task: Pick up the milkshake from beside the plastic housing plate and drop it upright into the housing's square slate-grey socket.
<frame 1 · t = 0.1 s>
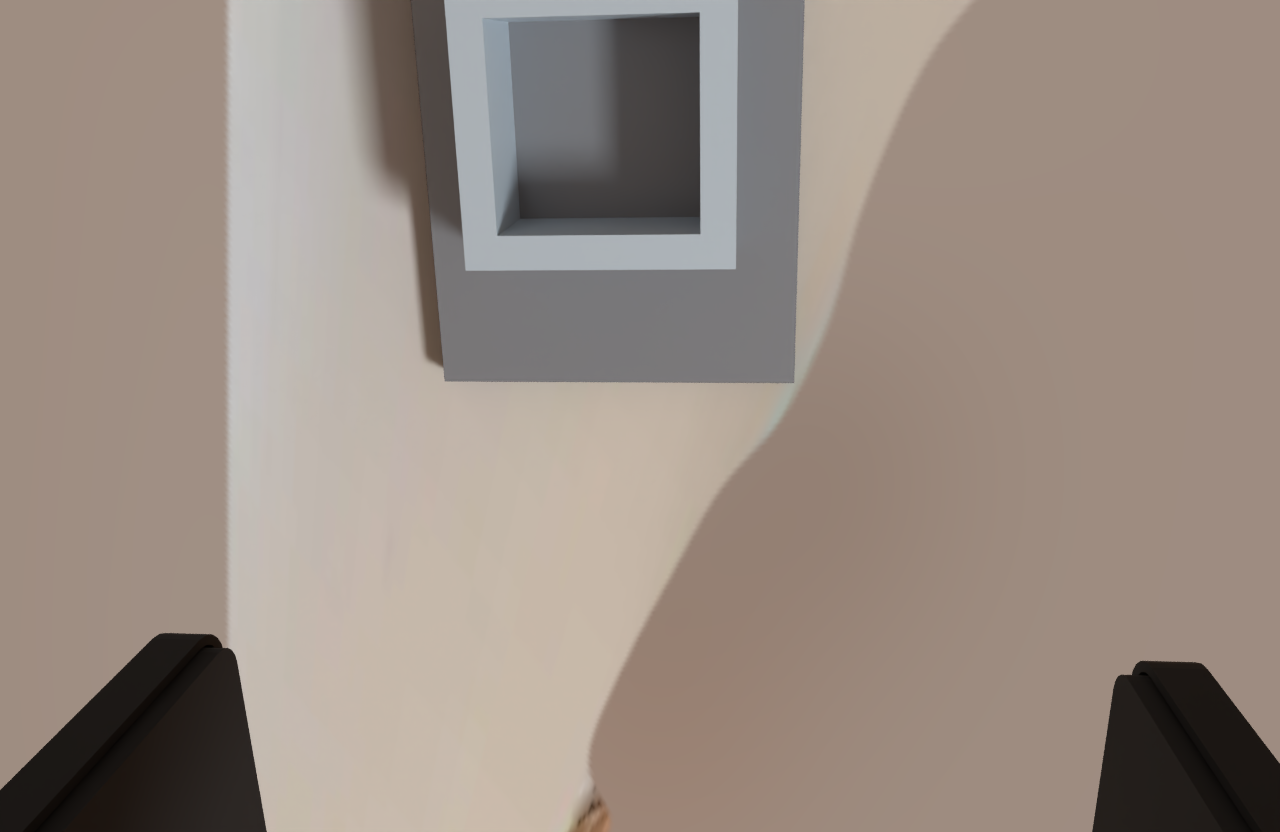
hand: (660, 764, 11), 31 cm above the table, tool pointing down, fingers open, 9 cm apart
housing: (612, 119, 39), on the table
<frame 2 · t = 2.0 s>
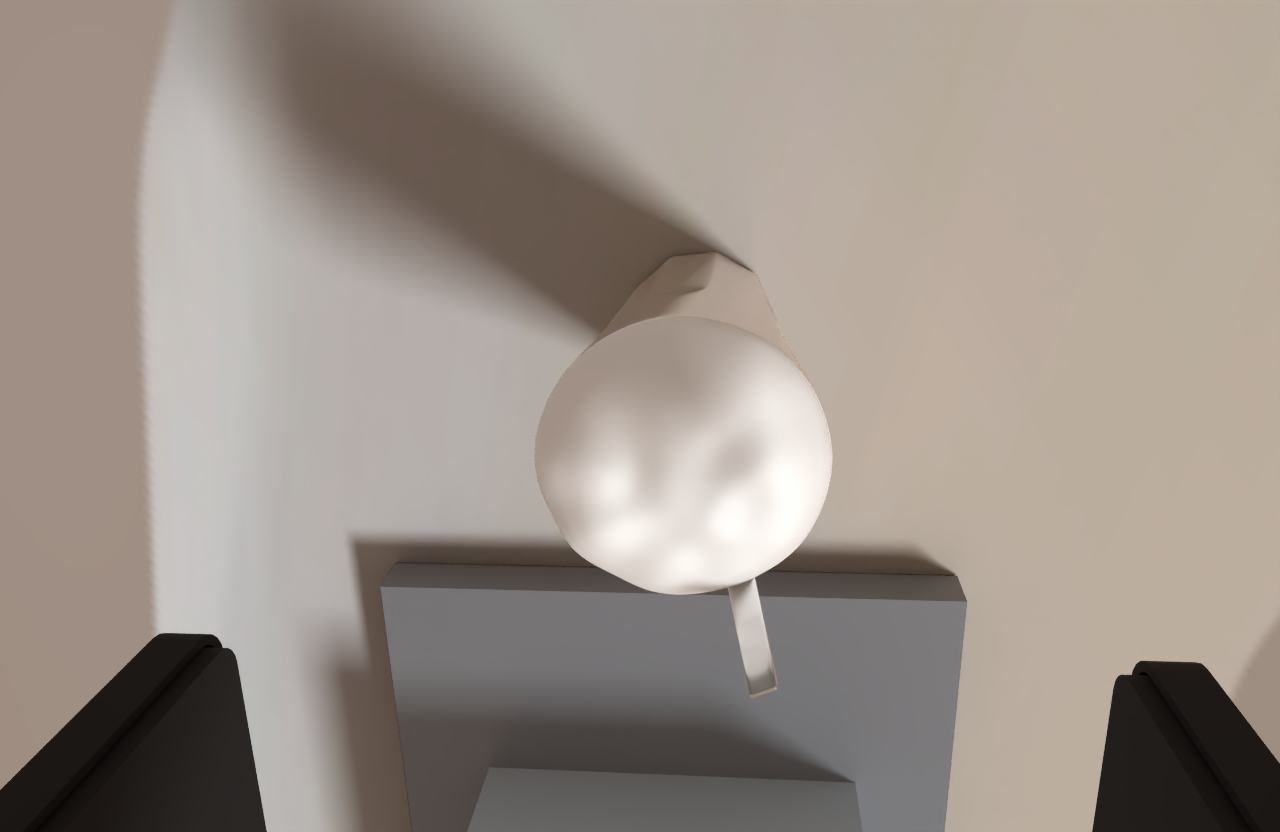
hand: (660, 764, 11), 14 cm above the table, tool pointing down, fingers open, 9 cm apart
milkshake: (708, 334, 24), on the table
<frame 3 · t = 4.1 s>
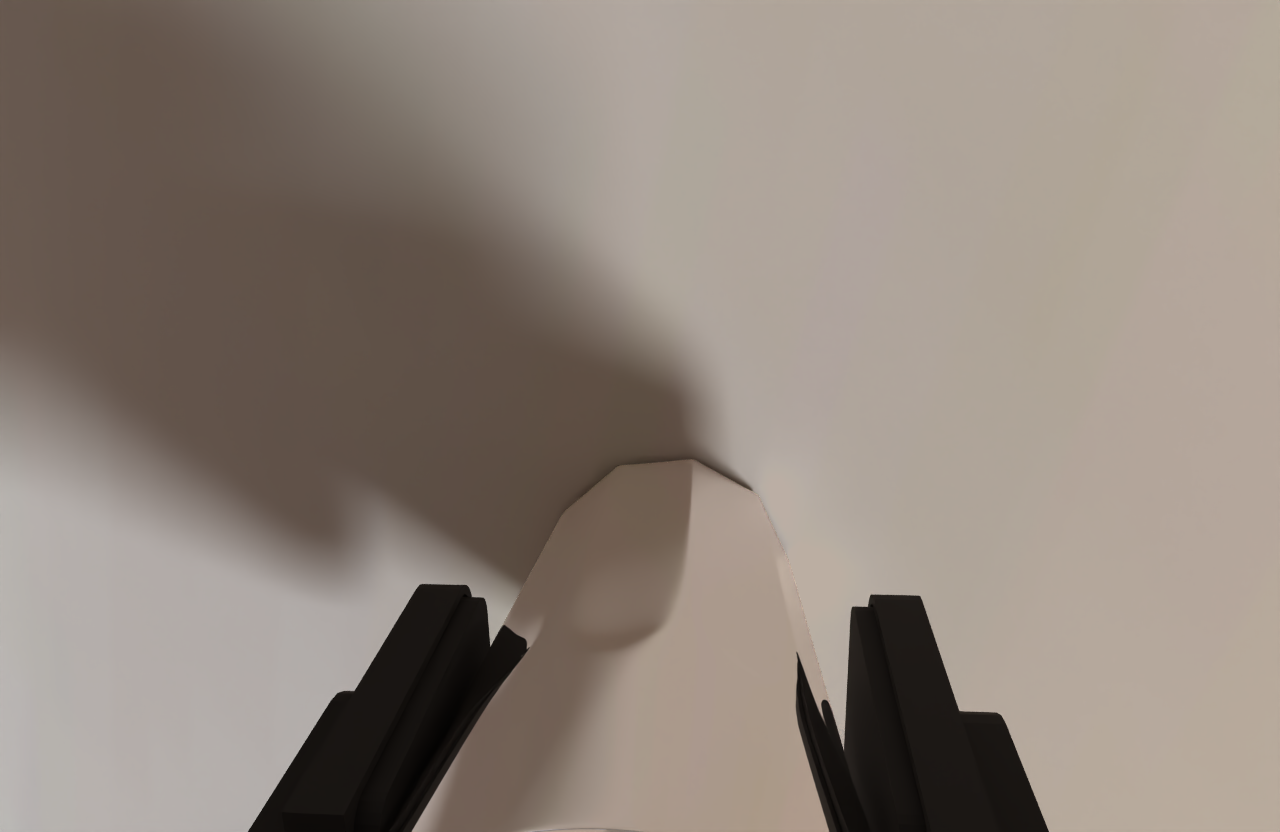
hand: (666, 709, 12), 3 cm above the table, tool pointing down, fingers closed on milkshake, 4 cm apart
milkshake: (681, 580, 15), on the table, touching gripper
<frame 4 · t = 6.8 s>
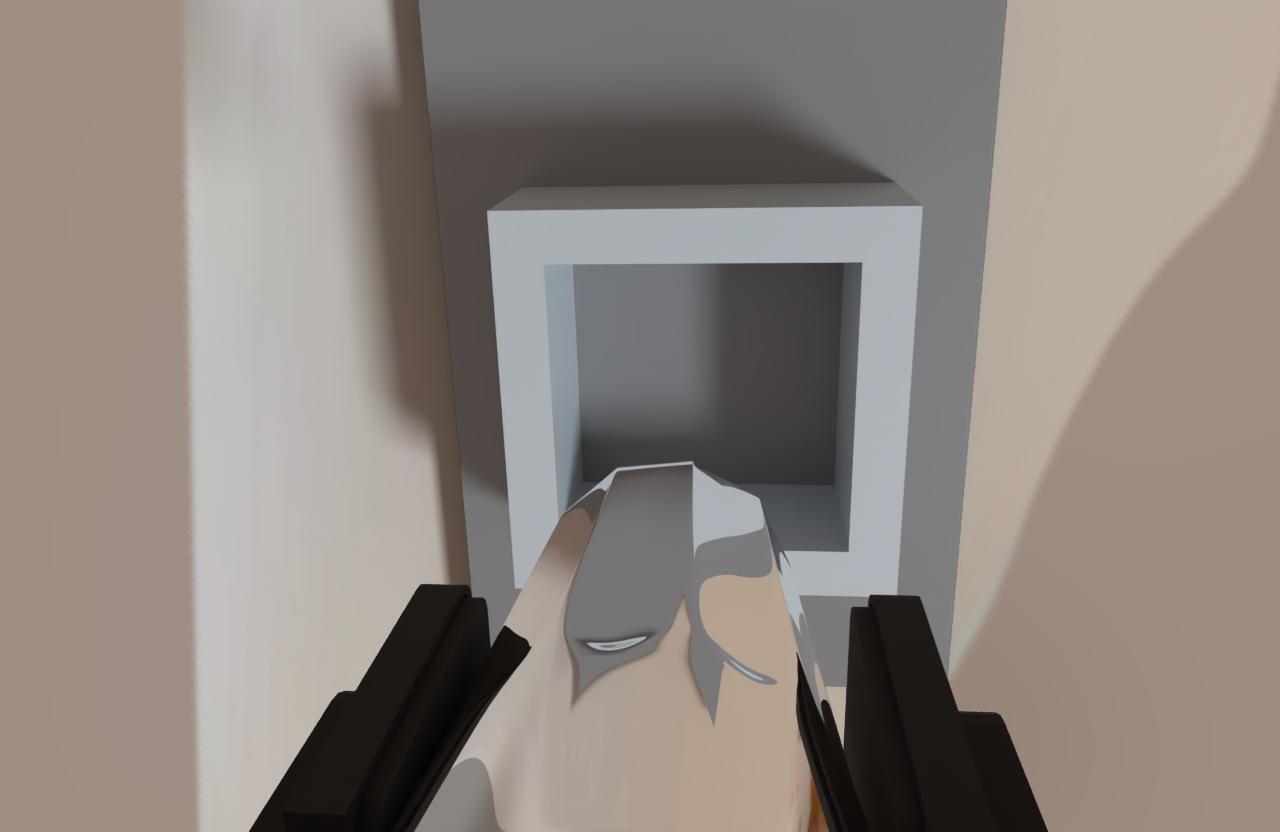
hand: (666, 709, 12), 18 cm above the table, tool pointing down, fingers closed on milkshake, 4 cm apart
milkshake: (681, 582, 15), point 15 cm above the table, touching gripper
housing: (708, 350, 29), on the table
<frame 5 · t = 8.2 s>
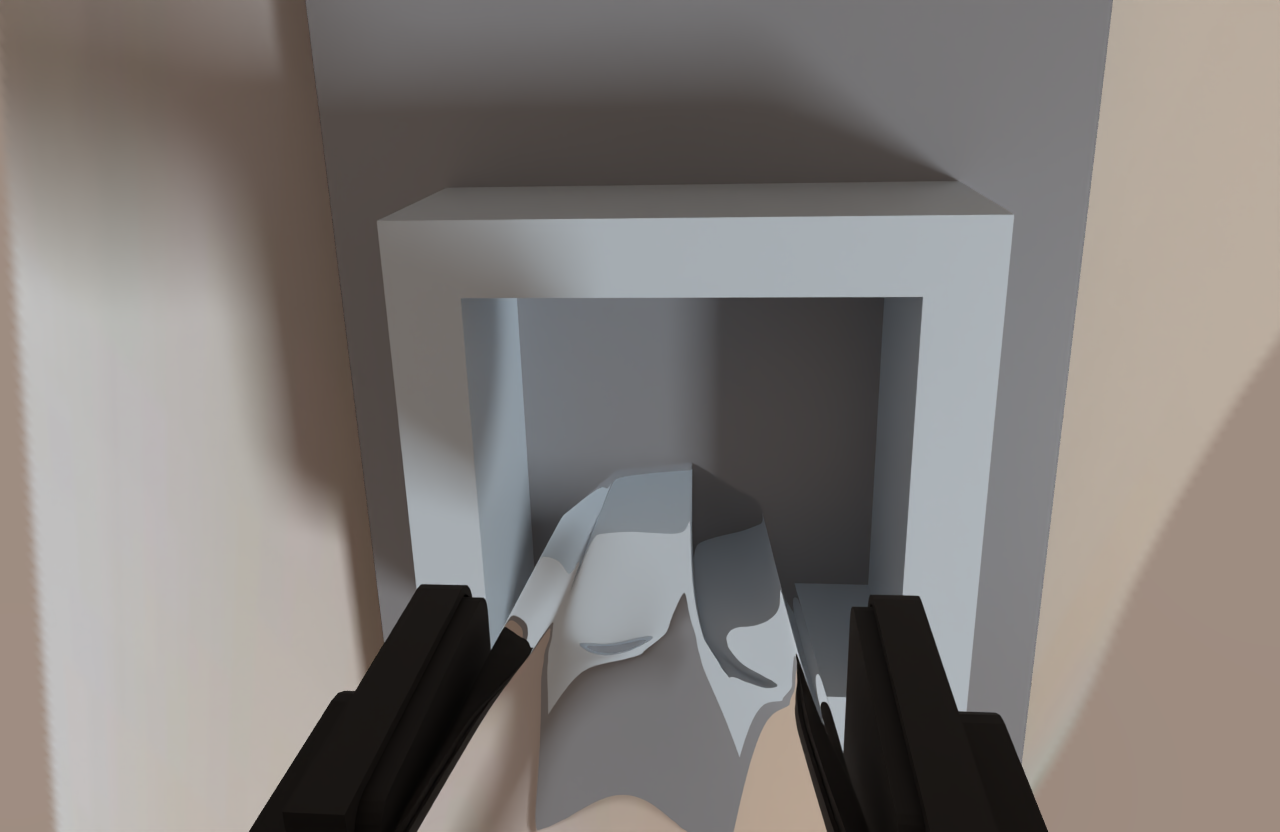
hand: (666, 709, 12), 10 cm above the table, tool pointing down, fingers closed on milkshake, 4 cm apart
milkshake: (681, 584, 15), point 8 cm above the table, touching gripper
housing: (700, 405, 22), on the table
when the fingers open (7 cm above the table, at t = 9.6 s): milkshake drops 3 cm, resting on housing.
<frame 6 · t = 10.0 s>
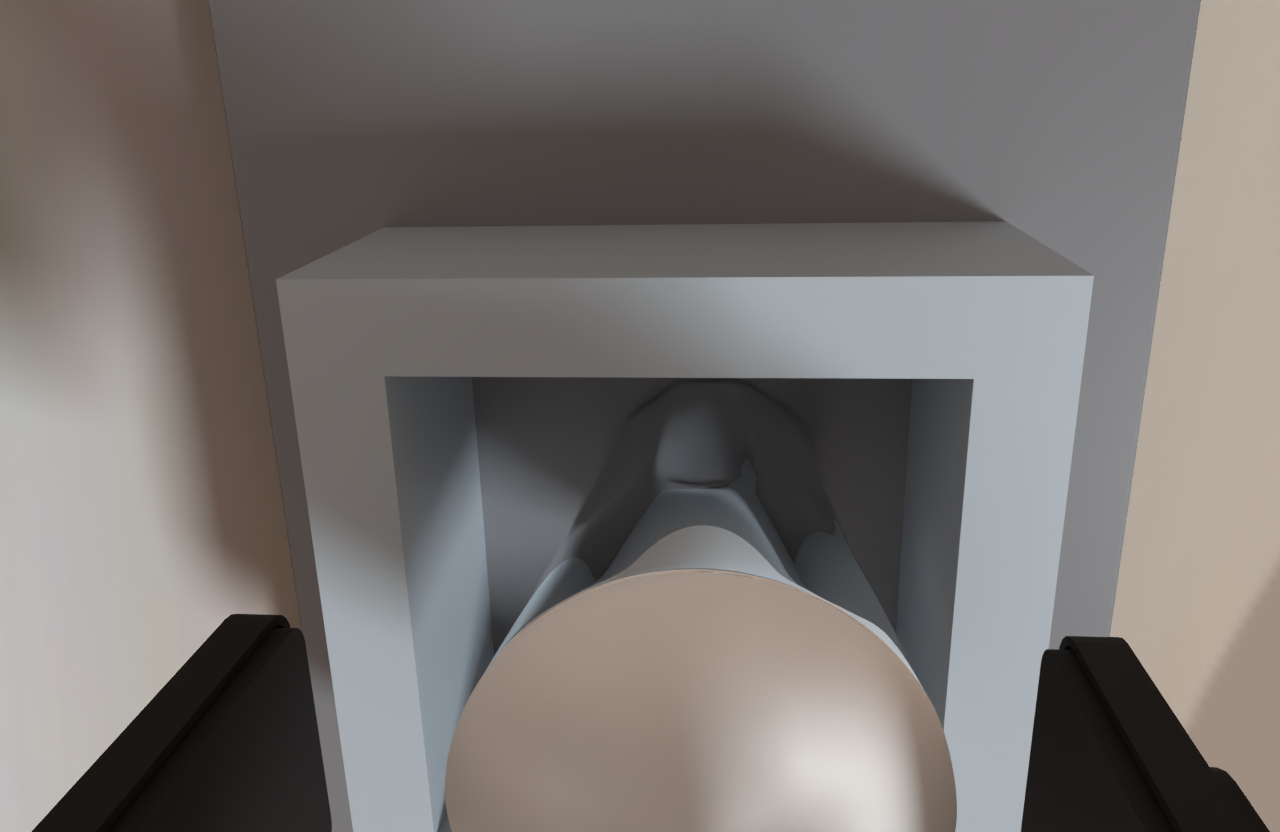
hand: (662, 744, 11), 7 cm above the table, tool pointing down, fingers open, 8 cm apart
milkshake: (720, 488, 17), point 1 cm above the table, touching housing
housing: (692, 480, 18), on the table
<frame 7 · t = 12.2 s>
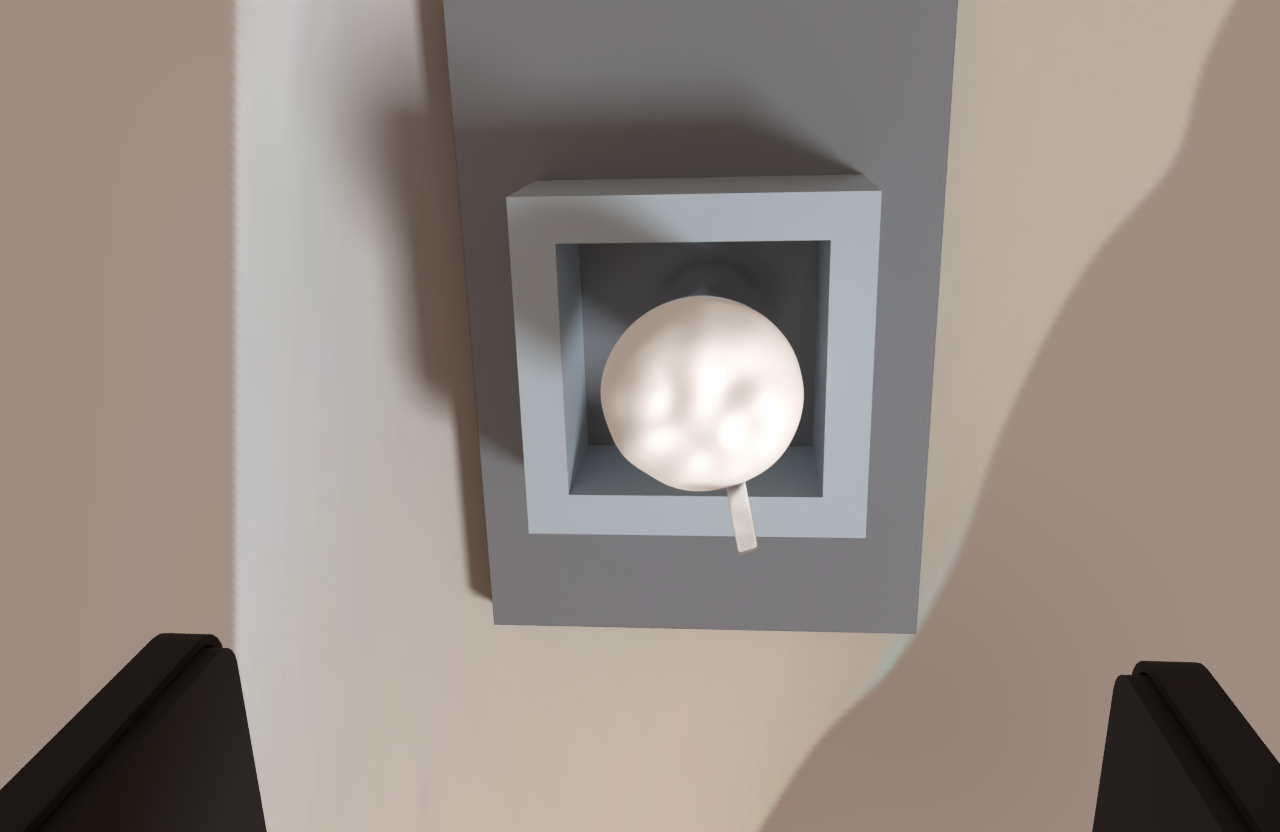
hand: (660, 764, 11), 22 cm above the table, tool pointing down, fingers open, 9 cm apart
milkshake: (715, 325, 31), point 1 cm above the table, touching housing
housing: (699, 327, 32), on the table
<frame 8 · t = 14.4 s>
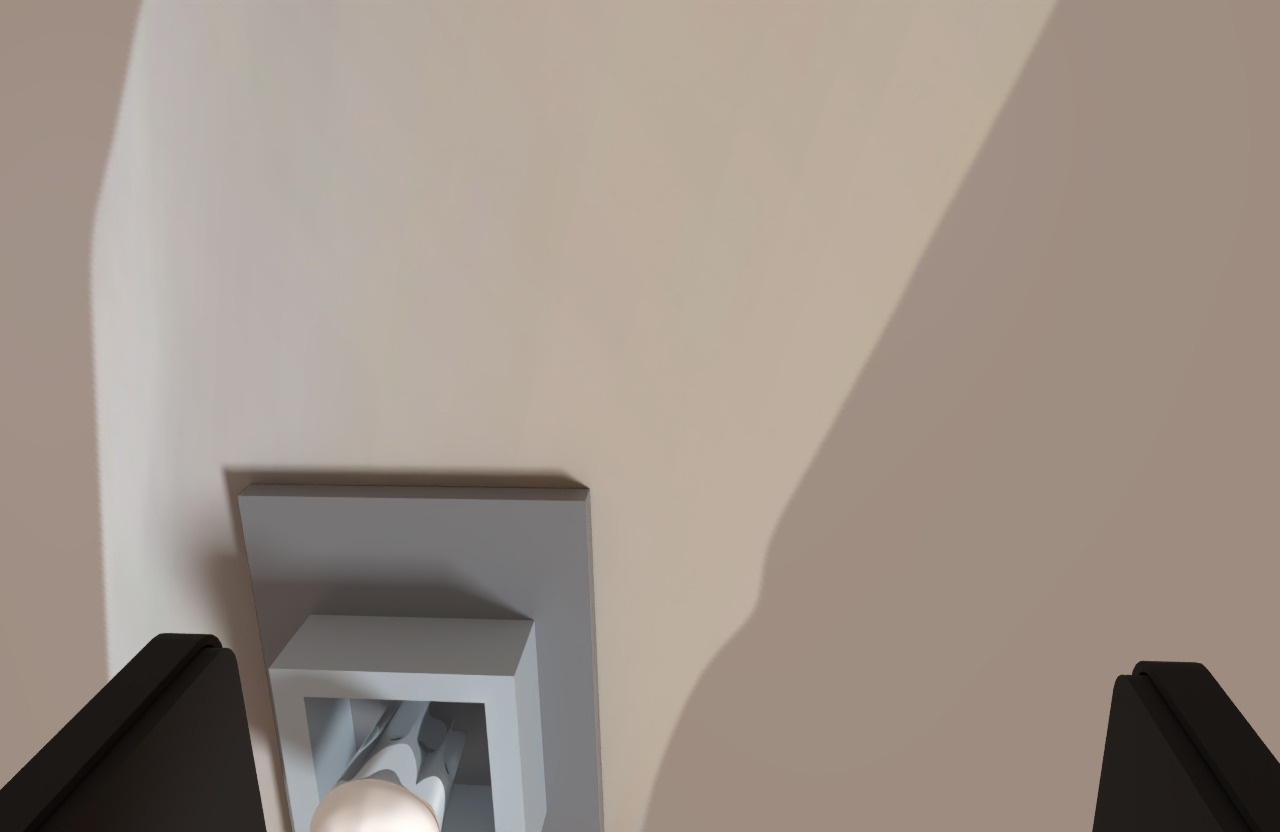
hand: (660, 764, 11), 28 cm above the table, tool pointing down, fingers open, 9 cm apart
milkshake: (443, 706, 44), point 1 cm above the table, touching housing
housing: (439, 698, 45), on the table
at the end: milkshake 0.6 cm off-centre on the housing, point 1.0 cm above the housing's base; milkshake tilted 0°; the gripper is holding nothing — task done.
